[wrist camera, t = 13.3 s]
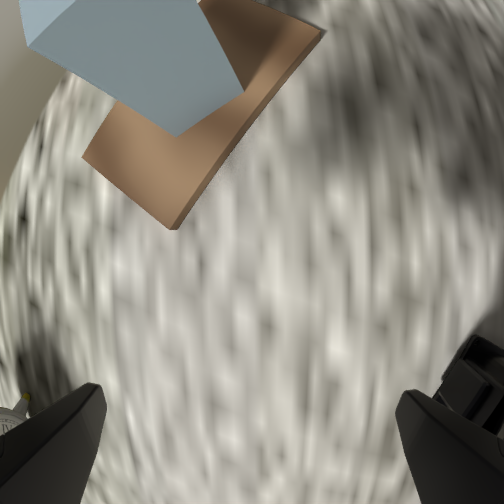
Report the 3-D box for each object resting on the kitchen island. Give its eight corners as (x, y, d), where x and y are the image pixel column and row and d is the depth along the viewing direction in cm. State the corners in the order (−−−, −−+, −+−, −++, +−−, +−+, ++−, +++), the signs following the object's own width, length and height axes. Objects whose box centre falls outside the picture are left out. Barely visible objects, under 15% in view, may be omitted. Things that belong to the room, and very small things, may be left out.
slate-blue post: (244, 91, 18) (161, -59, 5) (176, 137, 18) (27, 47, 6) (205, 42, 18) (117, -89, 5) (144, 84, 19) (17, -10, 6)
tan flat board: (218, -4, 18) (214, -13, 17) (320, 40, 18) (320, 30, 16) (91, 160, 21) (81, 157, 20) (177, 229, 20) (169, 229, 19)
